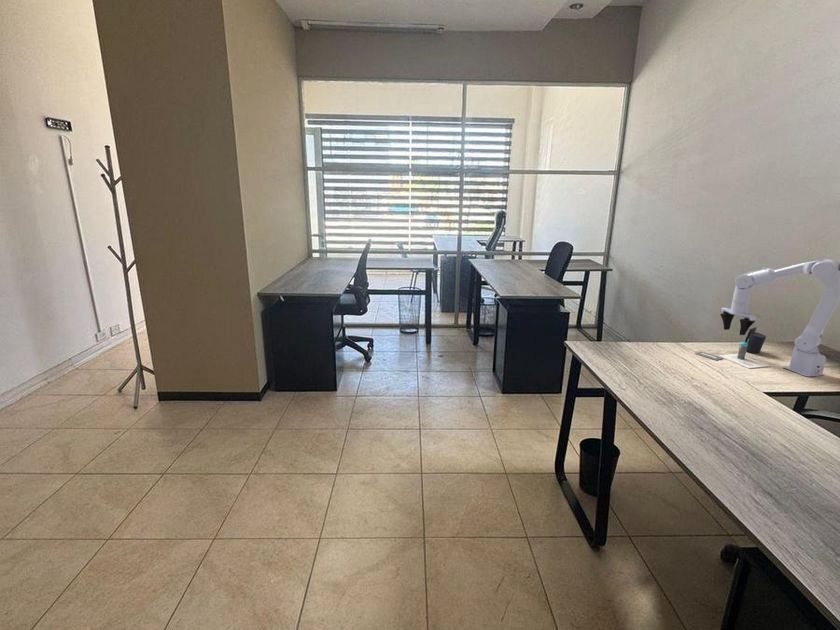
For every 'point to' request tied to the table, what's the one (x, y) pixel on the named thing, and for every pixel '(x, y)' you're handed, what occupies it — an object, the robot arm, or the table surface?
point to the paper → (744, 361)
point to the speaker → (754, 341)
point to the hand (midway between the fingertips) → (734, 332)
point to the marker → (742, 350)
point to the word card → (709, 355)
